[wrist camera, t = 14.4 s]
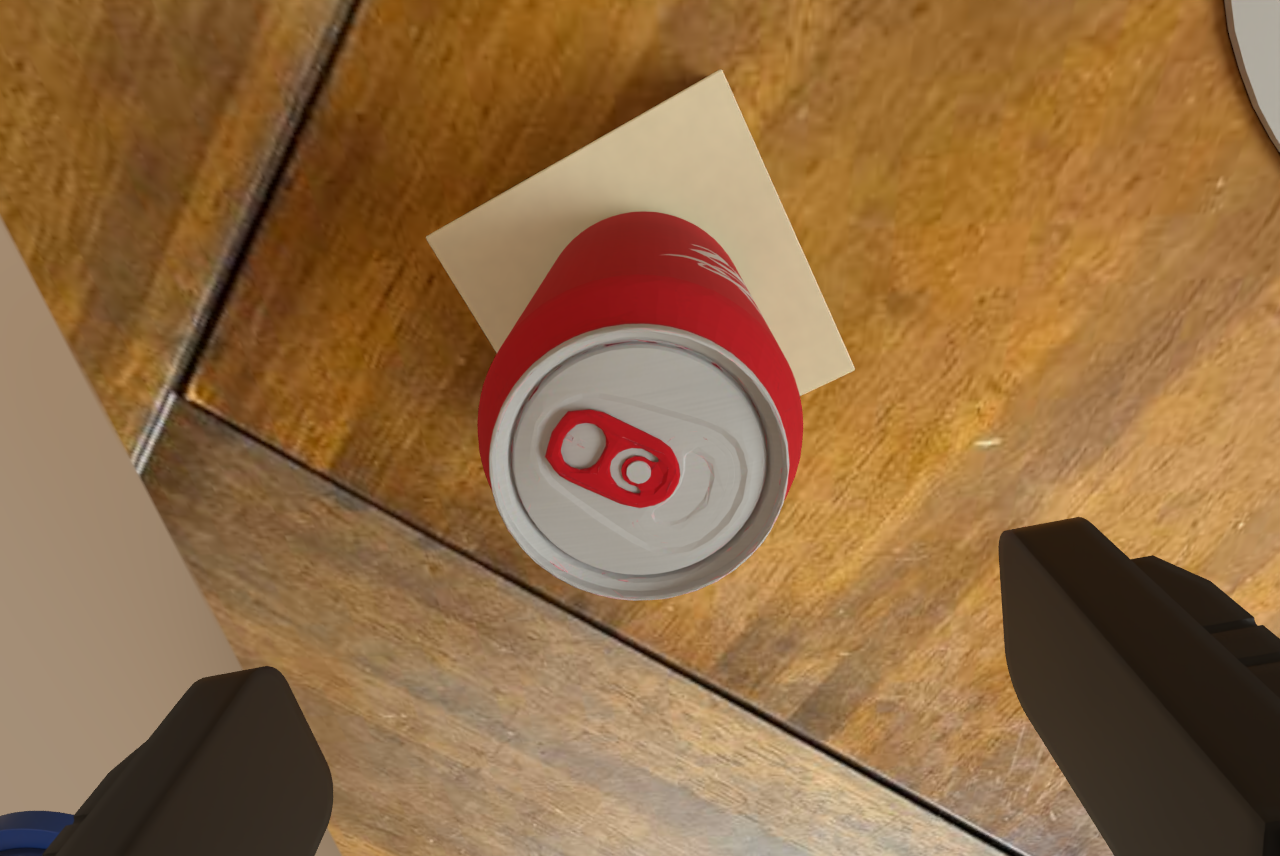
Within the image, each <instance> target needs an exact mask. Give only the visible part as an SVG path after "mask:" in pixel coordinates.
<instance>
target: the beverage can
mask: <svg viewBox="0 0 1280 856" xmlns="http://www.w3.org/2000/svg"><path fill="white" fill-rule="evenodd" d="M802 437H803V414H802V406H801V400H800V394H799V391H798V387H797V384H796V381H795V378H794V375H793V372H792V370H791V368H790V366H789V364H788V361H787V360H786V358H785V356H784V354H783V352H782V351H781V349H780V347H779V345H778V343H777V341H776V340H775V338H774V336H773V334H772V332H771V331H770V329H769V327H768V325H767V323H766V322H765V320H764V318H763V316H762V314H761V312H760V311H759V309H758V307H757V305H756V303H755V302H754V300H753V298H752V296H751V294H750V293H749V291H748V289H747V287H746V285H745V284H744V282H743V280H742V278H741V276H740V274H739V273H738V271H737V269H736V267H735V265H734V264H733V262H732V260H731V259H730V257H729V256H728V254H727V253H726V252H725V250H724V249H723V248H722V246H721V245H720V244H719V243H718V242H717V241H716V240H715V239H714V238H712V237H711V236H710V235H709V234H708V233H707V232H705V231H704V230H702V229H701V228H699V227H698V226H696V225H694V224H692V223H690V222H688V221H686V220H684V219H681V218H679V217H676V216H672V215H669V214H664V213H658V212H646V211H641V212H629V213H624V214H619V215H615V216H612V217H609V218H606V219H604V220H601V221H599V222H597V223H596V224H594V225H592V226H590V227H588V228H587V229H585V230H584V231H583V232H581V233H580V234H579V235H578V236H576V237H575V238H574V239H573V240H572V241H571V242H570V243H569V244H568V245H567V246H566V247H565V249H564V250H563V251H562V253H561V254H560V255H559V257H558V258H557V260H556V261H555V263H554V264H553V266H552V268H551V269H550V271H549V272H548V274H547V275H546V277H545V279H544V280H543V282H542V283H541V285H540V286H539V288H538V290H537V291H536V293H535V294H534V296H533V297H532V299H531V301H530V302H529V304H528V305H527V307H526V308H525V310H524V311H523V313H522V315H521V316H520V318H519V319H518V321H517V322H516V324H515V326H514V327H513V329H512V330H511V332H510V333H509V335H508V337H507V338H506V340H505V341H504V343H503V344H502V346H501V347H500V349H499V351H498V353H497V354H496V356H495V358H494V360H493V362H492V364H491V366H490V368H489V370H488V373H487V376H486V379H485V382H484V384H483V388H482V392H481V397H480V403H479V409H478V440H479V451H480V456H481V460H482V464H483V468H484V472H485V475H486V477H487V480H488V483H489V485H490V487H491V489H492V492H493V495H494V499H495V502H496V505H497V508H498V510H499V513H500V515H501V517H502V519H503V521H504V523H505V525H506V527H507V529H508V531H509V532H510V533H511V535H512V536H513V537H514V539H515V540H516V541H517V543H518V544H519V545H520V547H521V548H522V549H523V550H524V551H525V552H526V553H527V554H528V555H529V556H530V557H531V558H532V559H533V560H534V561H535V562H536V563H537V564H538V565H540V566H541V567H543V568H544V569H545V570H547V571H548V572H549V573H551V574H552V575H553V576H555V577H556V578H558V579H560V580H562V581H564V582H566V583H568V584H570V585H571V586H573V587H575V588H578V589H581V590H584V591H587V592H590V593H593V594H596V595H600V596H605V597H610V598H614V599H623V600H634V601H635V600H655V599H667V598H671V597H675V596H679V595H683V594H686V593H690V592H694V591H697V590H699V589H701V588H703V587H706V586H708V585H710V584H712V583H715V582H717V581H718V580H720V579H721V578H723V577H725V576H726V575H728V574H729V573H731V572H732V571H734V570H735V569H736V568H738V567H739V566H740V565H741V564H742V563H743V562H744V561H746V560H747V559H748V558H749V557H750V556H751V555H752V554H753V553H754V552H755V551H756V550H757V548H758V547H759V546H760V545H761V544H762V543H763V541H764V540H765V538H766V537H767V535H768V534H769V532H770V531H771V529H772V527H773V525H774V523H775V521H776V519H777V517H778V515H779V513H780V510H781V508H782V505H783V502H784V500H785V499H786V496H787V494H788V492H789V489H790V487H791V485H792V482H793V480H794V478H795V474H796V471H797V467H798V464H799V460H800V455H801V447H802Z"/></svg>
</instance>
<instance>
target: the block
mask: <svg viewBox="0 0 1280 856" xmlns="http://www.w3.org/2000/svg"><path fill="white" fill-rule="evenodd" d="M641 211H646V212H658V213H664V214H669V215H672V216H676V217H679V218H681V219H684V220H686V221H688V222H690V223H692V224H694V225H696V226H698V227H699V228H701V229H702V230H704V231H705V232H707V233H708V234H709V235H710V236H711V237H712V238H714V239H715V240H716V241H717V242H718V243H719V244H720V245H721V246H722V248H723V249H724V250H725V252H726V253H727V254H728V256H729V257H730V259H731V260H732V262H733V264H734V265H735V267H736V269H737V271H738V273H739V274H740V276H741V278H742V280H743V282H744V284H745V285H746V287H747V289H748V291H749V293H750V294H751V296H752V298H753V300H754V302H755V303H756V305H757V307H758V309H759V311H760V312H761V314H762V316H763V318H764V320H765V322H766V323H767V325H768V327H769V329H770V331H771V332H772V334H773V336H774V338H775V340H776V341H777V343H778V345H779V347H780V349H781V351H782V352H783V354H784V356H785V358H786V360H787V361H788V364H789V366H790V368H791V370H792V372H793V375H794V378H795V381H796V384H797V387H798V391H799V394H800V396H801V395H803V394H805V393H807V392H810V391H812V390H814V389H816V388H818V387H820V386H822V385H824V384H827V383H829V382H831V381H833V380H835V379H837V378H839V377H841V376H844V375H846V374H848V373H850V372H852V371H854V370H855V367H854V365H853V363H852V361H851V358H850V356H849V354H848V352H847V349H846V347H845V345H844V343H843V340H842V338H841V336H840V334H839V331H838V329H837V327H836V325H835V322H834V320H833V318H832V316H831V313H830V311H829V309H828V307H827V304H826V302H825V300H824V298H823V295H822V293H821V291H820V289H819V286H818V284H817V282H816V280H815V277H814V275H813V273H812V271H811V268H810V266H809V264H808V262H807V259H806V257H805V255H804V253H803V250H802V248H801V246H800V244H799V241H798V239H797V237H796V235H795V232H794V230H793V228H792V226H791V223H790V221H789V219H788V217H787V214H786V212H785V210H784V208H783V205H782V203H781V201H780V199H779V196H778V194H777V192H776V190H775V187H774V185H773V183H772V181H771V178H770V176H769V174H768V172H767V169H766V167H765V165H764V163H763V160H762V158H761V156H760V154H759V151H758V149H757V147H756V145H755V142H754V140H753V138H752V136H751V133H750V131H749V129H748V127H747V124H746V122H745V120H744V118H743V115H742V113H741V111H740V109H739V106H738V104H737V102H736V100H735V97H734V95H733V93H732V91H731V88H730V86H729V84H728V82H727V79H726V77H725V75H724V73H723V70H721V69H720V70H718V71H716V72H714V73H713V74H711V75H709V76H707V77H706V78H704V79H702V80H700V81H699V82H697V83H695V84H693V85H692V86H690V87H688V88H686V89H685V90H683V91H681V92H679V93H678V94H676V95H674V96H672V97H670V98H669V99H667V100H665V101H663V102H662V103H660V104H658V105H656V106H655V107H653V108H651V109H649V110H648V111H646V112H644V113H642V114H641V115H639V116H637V117H635V118H634V119H632V120H630V121H628V122H626V123H625V124H623V125H621V126H619V127H618V128H616V129H614V130H612V131H611V132H609V133H607V134H605V135H604V136H602V137H600V138H598V139H597V140H595V141H593V142H591V143H590V144H588V145H586V146H584V147H583V148H581V149H579V150H577V151H575V152H574V153H572V154H570V155H568V156H567V157H565V158H563V159H561V160H560V161H558V162H556V163H554V164H553V165H551V166H549V167H547V168H546V169H544V170H542V171H540V172H539V173H537V174H535V175H533V176H531V177H530V178H528V179H526V180H524V181H523V182H521V183H519V184H517V185H516V186H514V187H512V188H510V189H509V190H507V191H505V192H503V193H502V194H500V195H498V196H496V197H495V198H493V199H491V200H489V201H487V202H486V203H484V204H482V205H480V206H479V207H477V208H475V209H473V210H472V211H470V212H468V213H466V214H465V215H463V216H461V217H459V218H458V219H456V220H454V221H452V222H451V223H449V224H447V225H445V226H444V227H442V228H440V229H438V230H436V231H435V232H433V233H431V234H429V235H428V236H426V240H427V241H428V243H429V244H430V246H431V248H432V249H433V251H434V252H435V254H436V256H437V257H438V259H439V261H440V262H441V264H442V265H443V267H444V269H445V270H446V272H447V274H448V275H449V277H450V278H451V280H452V282H453V283H454V285H455V286H456V288H457V290H458V291H459V293H460V295H461V296H462V298H463V299H464V301H465V303H466V304H467V306H468V308H469V309H470V311H471V312H472V314H473V316H474V317H475V319H476V320H477V322H478V324H479V325H480V327H481V329H482V330H483V332H484V333H485V335H486V337H487V338H488V340H489V341H490V343H491V345H492V346H493V348H494V350H495V351H496V353H498V351H499V349H500V347H501V346H502V344H503V343H504V341H505V340H506V338H507V337H508V335H509V333H510V332H511V330H512V329H513V327H514V326H515V324H516V322H517V321H518V319H519V318H520V316H521V315H522V313H523V311H524V310H525V308H526V307H527V305H528V304H529V302H530V301H531V299H532V297H533V296H534V294H535V293H536V291H537V290H538V288H539V286H540V285H541V283H542V282H543V280H544V279H545V277H546V275H547V274H548V272H549V271H550V269H551V268H552V266H553V264H554V263H555V261H556V260H557V258H558V257H559V255H560V254H561V253H562V251H563V250H564V249H565V247H566V246H567V245H568V244H569V243H570V242H571V241H572V240H573V239H574V238H575V237H576V236H578V235H579V234H580V233H581V232H583V231H584V230H585V229H587V228H588V227H590V226H592V225H594V224H596V223H597V222H599V221H601V220H604V219H606V218H609V217H612V216H615V215H619V214H624V213H629V212H641Z"/></svg>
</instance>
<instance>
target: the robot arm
mask: <svg viewBox="0 0 1280 856" xmlns="http://www.w3.org/2000/svg"><path fill="white" fill-rule="evenodd" d="M999 565H1000V581H1001V596H1002V611H1003V627H1004V642H1005V654H1006V660H1007V665H1008V670H1009V673H1010V677H1011V680H1012V683H1013V686H1014V689H1015V692H1016V694H1017V697H1018V699H1019V702H1020V704H1021V706H1022V708H1023V710H1024V712H1025V713H1026V715H1027V717H1028V718H1029V720H1030V722H1031V723H1032V725H1033V726H1034V728H1035V730H1036V731H1037V733H1038V734H1039V736H1040V738H1041V739H1042V741H1043V742H1044V744H1045V746H1046V747H1047V749H1048V750H1049V752H1050V754H1051V755H1052V757H1053V758H1054V760H1055V762H1056V763H1057V765H1058V766H1059V768H1060V769H1061V771H1062V773H1063V774H1064V776H1065V777H1066V779H1067V781H1068V782H1069V784H1070V785H1071V787H1072V789H1073V790H1074V792H1075V793H1076V795H1077V797H1078V798H1079V800H1080V801H1081V803H1082V805H1083V806H1084V808H1085V809H1086V811H1087V813H1088V814H1089V816H1090V817H1091V819H1092V821H1093V822H1094V824H1095V825H1096V827H1097V829H1098V830H1099V832H1100V833H1101V835H1102V837H1103V838H1104V840H1105V841H1106V843H1107V845H1108V846H1109V848H1110V849H1111V851H1112V853H1113V854H1114V856H1280V639H1279V638H1278V637H1277V636H1275V635H1274V634H1273V633H1272V632H1271V631H1269V630H1268V629H1267V628H1266V627H1265V626H1263V625H1261V626H1257V625H1256V623H1255V621H1254V617H1253V616H1251V615H1250V614H1249V613H1248V612H1247V611H1246V610H1244V609H1243V608H1242V607H1241V606H1240V605H1238V604H1237V603H1236V602H1235V601H1234V600H1232V599H1231V598H1230V597H1229V596H1228V595H1226V594H1225V593H1224V592H1223V591H1222V590H1220V589H1219V588H1218V587H1217V586H1216V585H1214V584H1213V583H1212V582H1211V581H1209V580H1207V579H1204V578H1202V577H1200V576H1198V575H1195V574H1193V573H1191V572H1189V571H1186V570H1184V569H1182V568H1180V567H1177V566H1175V565H1173V564H1171V563H1168V562H1166V561H1164V560H1162V559H1159V558H1157V557H1155V556H1147V557H1142V558H1136V559H1131V560H1130V559H1129V558H1128V557H1127V556H1126V555H1125V554H1124V553H1123V552H1122V551H1121V550H1120V549H1118V548H1117V547H1116V546H1115V545H1114V544H1113V543H1112V542H1111V541H1110V540H1109V539H1108V538H1107V537H1106V536H1104V535H1103V534H1102V533H1101V532H1100V531H1099V530H1098V529H1097V528H1096V527H1095V526H1094V525H1093V524H1092V523H1090V522H1089V521H1088V520H1086V519H1084V518H1081V517H1076V518H1071V519H1065V520H1060V521H1055V522H1049V523H1044V524H1039V525H1033V526H1028V527H1022V528H1017V529H1012V530H1006V531H1004V532H1003V533H1002V534H1001V536H1000V540H999ZM332 805H333V783H332V777H331V773H330V769H329V766H328V764H327V762H326V760H325V758H324V756H323V754H322V752H321V750H320V747H319V745H318V743H317V741H316V739H315V737H314V735H313V733H312V731H311V729H310V727H309V725H308V723H307V721H306V719H305V717H304V715H303V713H302V711H301V709H300V707H299V705H298V703H297V701H296V698H295V696H294V694H293V692H292V690H291V688H290V686H289V684H288V682H287V681H286V679H285V677H284V676H283V675H282V673H281V672H279V671H278V670H277V669H275V668H273V667H269V666H265V667H259V668H253V669H248V670H243V671H237V672H232V673H227V674H221V675H216V676H210V677H205V678H202V679H200V680H198V681H196V682H195V683H194V684H193V685H192V686H191V687H190V688H189V689H188V690H187V692H186V693H185V694H184V695H183V697H182V698H181V699H180V700H179V701H178V703H177V704H176V705H175V706H174V708H173V709H172V710H171V712H170V713H169V714H168V715H167V716H166V718H165V719H164V720H163V721H162V723H161V724H160V725H159V727H158V728H157V729H156V730H155V731H154V733H153V734H152V735H151V737H150V738H149V739H148V740H147V741H146V742H145V743H143V744H142V745H141V746H140V747H139V748H138V749H136V750H135V751H134V752H133V753H132V754H130V755H129V756H128V757H127V758H126V759H125V760H123V761H122V762H121V763H120V764H119V765H117V766H116V767H115V768H114V769H113V770H111V771H110V772H109V773H108V774H107V776H106V777H105V778H104V779H103V781H102V782H101V783H100V784H99V785H98V787H97V788H96V789H95V790H94V792H93V793H92V794H91V796H90V797H89V798H88V799H87V800H86V801H85V803H84V804H83V805H82V806H81V807H80V809H79V810H78V811H77V812H76V814H75V815H74V816H73V817H74V822H73V824H72V825H66V826H65V827H64V828H63V829H62V831H61V832H60V833H59V834H58V836H57V837H56V838H55V839H54V840H53V842H52V843H51V844H50V845H49V847H48V848H47V849H36V848H21V849H11V850H6V851H1V852H0V856H314V855H315V853H316V851H317V849H318V846H319V844H320V842H321V840H322V837H323V835H324V833H325V831H326V829H327V826H328V823H329V820H330V816H331V812H332Z"/></svg>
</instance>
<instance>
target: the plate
mask: <svg viewBox="0 0 1280 856" xmlns="http://www.w3.org/2000/svg"><path fill="white" fill-rule="evenodd" d="M1224 1H1225V9H1226V17H1227V25H1228V32H1229V36H1230V39H1231V43H1232V46H1233V50H1234V53H1235V57H1236V60H1237V64H1238V67H1239V71H1240V73H1241V76H1242V79H1243V81H1244V84H1245V87H1246V89H1247V92H1248V95H1249V97H1250V100H1251V103H1252V106H1253V108H1254V110H1255V111H1256V113H1257V115H1258V117H1259V119H1260V121H1261V122H1262V124H1263V126H1264V128H1265V130H1266V131H1267V133H1268V135H1269V137H1270V139H1271V140H1272V142H1273V143H1274V145H1275V146H1276V148H1277V149H1278V151H1279V152H1280V0H1224Z"/></svg>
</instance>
